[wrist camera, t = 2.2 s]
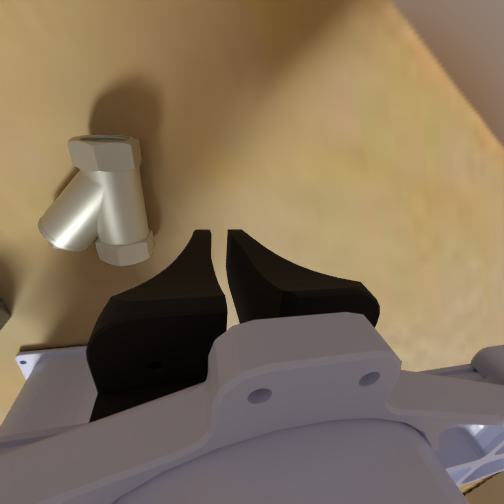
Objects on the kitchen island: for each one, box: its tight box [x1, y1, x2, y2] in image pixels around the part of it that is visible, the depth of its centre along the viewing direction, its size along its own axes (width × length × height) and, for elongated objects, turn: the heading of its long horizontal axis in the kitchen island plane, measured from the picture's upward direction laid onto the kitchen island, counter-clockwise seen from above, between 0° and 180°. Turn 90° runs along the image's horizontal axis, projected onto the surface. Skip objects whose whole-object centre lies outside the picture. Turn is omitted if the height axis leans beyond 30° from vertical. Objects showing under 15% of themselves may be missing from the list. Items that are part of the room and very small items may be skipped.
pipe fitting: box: [38, 135, 154, 266], centre depth 17 cm, size 8×4×7 cm
